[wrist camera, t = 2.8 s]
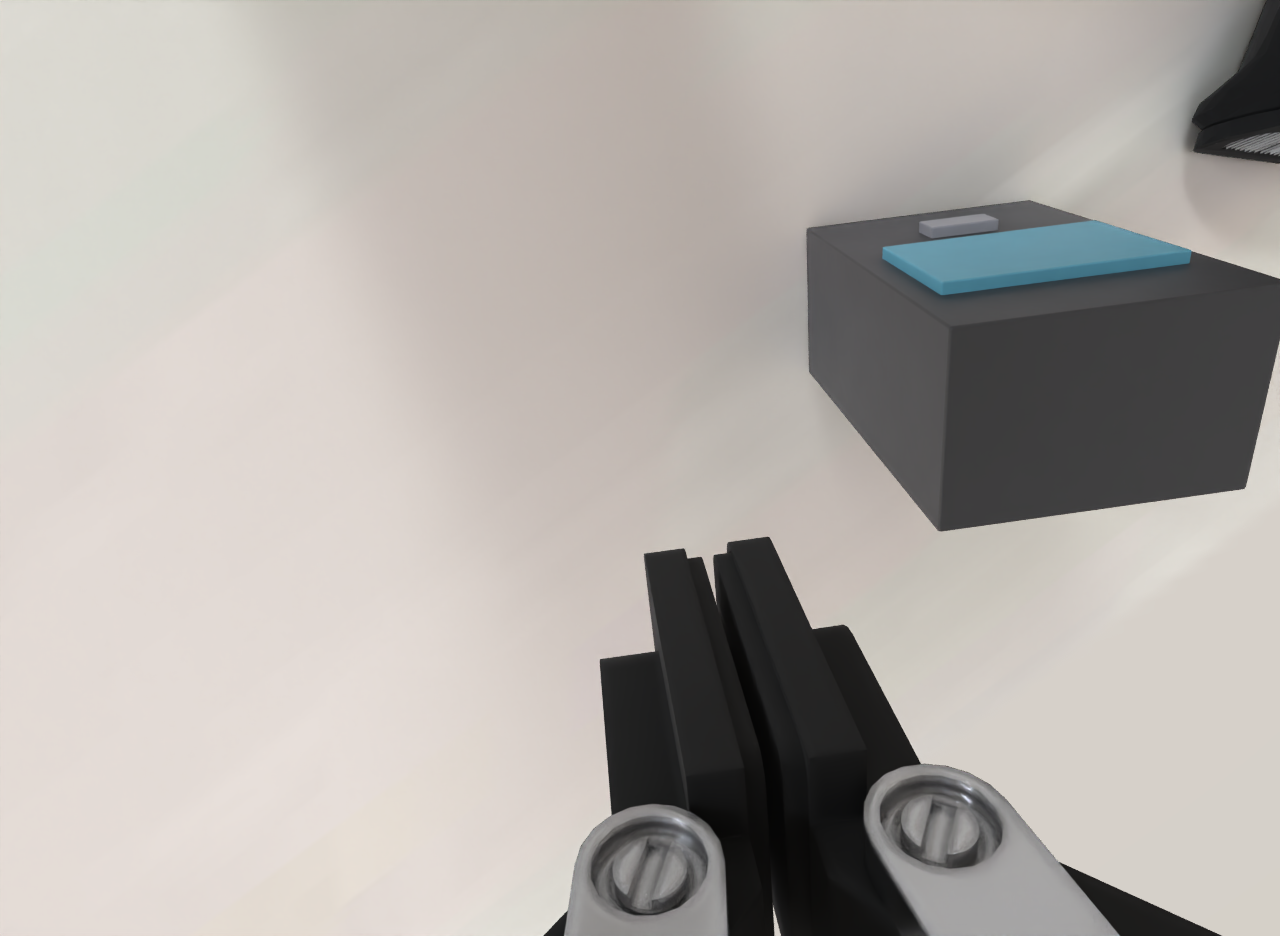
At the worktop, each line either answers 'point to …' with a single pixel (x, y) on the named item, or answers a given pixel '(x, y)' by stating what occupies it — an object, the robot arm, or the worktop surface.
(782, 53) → the worktop surface
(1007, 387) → the dark grey box
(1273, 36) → the electric trimmer
